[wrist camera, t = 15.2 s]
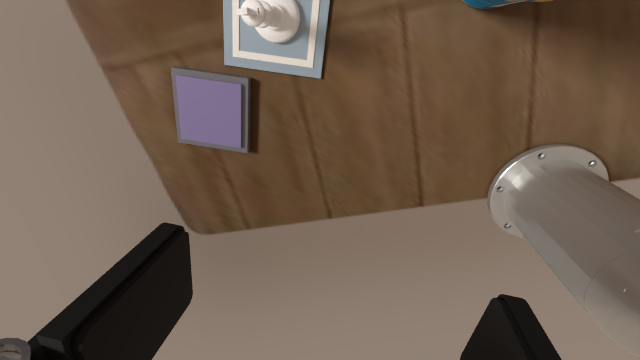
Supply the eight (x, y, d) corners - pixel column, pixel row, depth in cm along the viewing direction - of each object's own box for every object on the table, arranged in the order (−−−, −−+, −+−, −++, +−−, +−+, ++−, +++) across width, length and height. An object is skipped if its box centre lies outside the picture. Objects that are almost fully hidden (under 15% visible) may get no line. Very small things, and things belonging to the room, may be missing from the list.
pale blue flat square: (334, -41, 29) (334, -42, 28) (320, 78, 34) (320, 78, 33) (223, -55, 29) (221, -56, 29) (225, 64, 34) (224, 64, 34)
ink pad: (251, 77, 35) (247, 79, 33) (249, 150, 39) (246, 154, 37) (175, 66, 35) (168, 67, 34) (182, 139, 39) (176, 143, 38)
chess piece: (301, 42, 32) (279, 46, 23) (256, 43, 33) (218, 48, 24) (298, -12, 30) (273, -31, 21) (250, -10, 30) (206, -27, 22)
